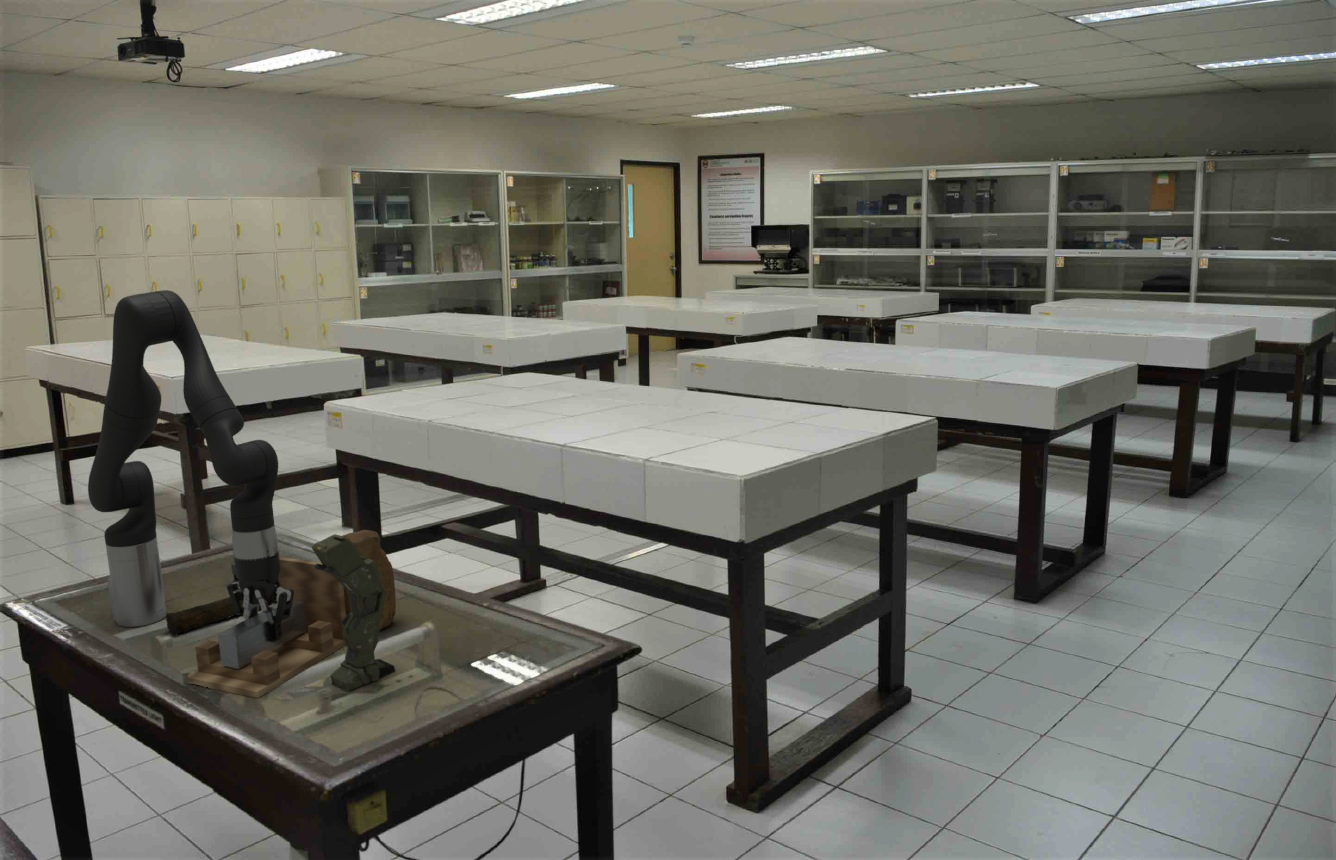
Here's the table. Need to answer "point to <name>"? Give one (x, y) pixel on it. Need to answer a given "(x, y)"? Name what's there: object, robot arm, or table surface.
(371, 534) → the brown rounded piece
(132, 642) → the table surface
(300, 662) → the post cradle
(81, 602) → the table surface
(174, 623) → the dark brown bar
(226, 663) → the rail
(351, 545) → the mechanical leg
